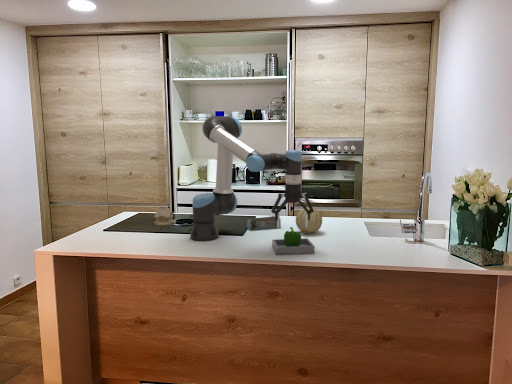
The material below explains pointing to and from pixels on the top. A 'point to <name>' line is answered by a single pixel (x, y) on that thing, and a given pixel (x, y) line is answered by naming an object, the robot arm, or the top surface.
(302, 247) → the tray
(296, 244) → the bell pepper
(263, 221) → the beverage carton
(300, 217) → the cantaloupe
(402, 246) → the top surface
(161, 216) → the ceramic model
